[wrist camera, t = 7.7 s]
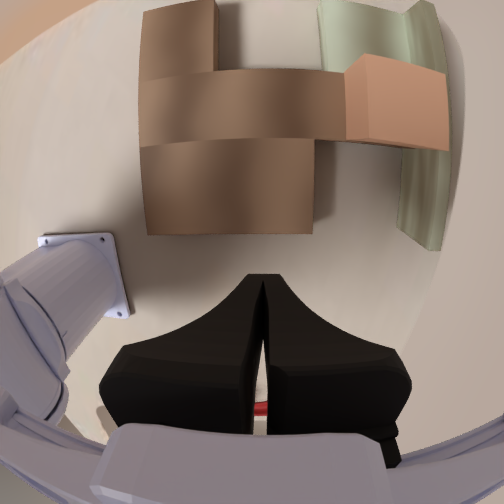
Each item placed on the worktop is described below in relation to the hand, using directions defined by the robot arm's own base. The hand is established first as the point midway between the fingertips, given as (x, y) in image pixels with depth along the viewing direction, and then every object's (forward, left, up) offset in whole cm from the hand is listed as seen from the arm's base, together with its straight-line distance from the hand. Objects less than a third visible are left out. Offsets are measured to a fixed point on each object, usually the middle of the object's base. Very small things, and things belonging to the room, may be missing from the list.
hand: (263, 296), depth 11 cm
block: (+8, +9, -7) cm, 14 cm away
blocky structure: (+2, +8, -9) cm, 13 cm away
